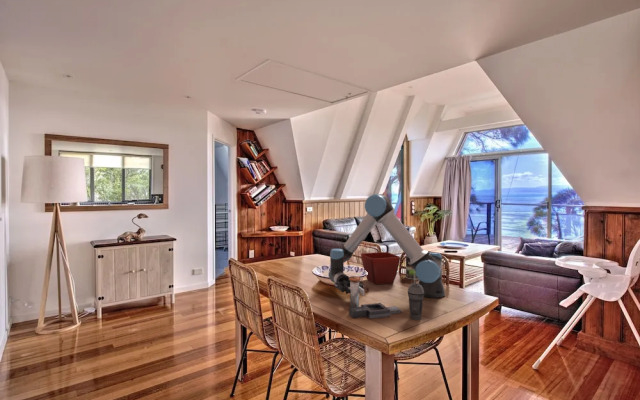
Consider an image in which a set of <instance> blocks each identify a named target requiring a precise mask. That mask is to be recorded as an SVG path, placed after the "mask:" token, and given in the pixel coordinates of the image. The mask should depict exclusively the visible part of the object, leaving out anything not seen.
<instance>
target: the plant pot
mask: <svg viewBox="0 0 640 400" xmlns="http://www.w3.org/2000/svg"><path fill="white" fill-rule="evenodd" d="M360 257H361V262H362V268H363V270H366V271H367V272H368V275H367V276H366V275H365V277H366V280H367V281H369V282H370V283H372V284H373V285H385V284H386V285H387V284H394V282H395V280H396V277H397V273H398V271H399V266H400V261H401V256H400V255H396V254H393V253H391V252H389V251H387V252H386V251H384V252H383V251H382V252H365V253H364V252H362V253H360Z"/></svg>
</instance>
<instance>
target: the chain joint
mask: <svg viewBox="0 0 640 400" xmlns="http://www.w3.org/2000/svg"><path fill="white" fill-rule="evenodd" d="M401 313H402V308H401V309H400V308H399V307H398V306H395V305H394V306H386V305H384V304H383V303H381V302H377V303H375V302H374V303H365V304H361V305H360V306H359V307H349V308H348V315H349V316H350V317H351V318H352V319H359V318H369V319H378V318H379V319H380V318H388V317H389V318H390V317H391V315H394V314H401Z"/></svg>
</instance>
